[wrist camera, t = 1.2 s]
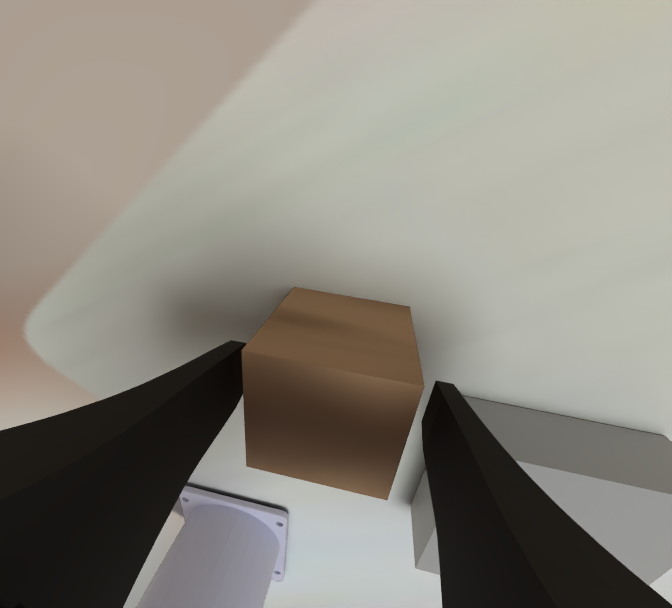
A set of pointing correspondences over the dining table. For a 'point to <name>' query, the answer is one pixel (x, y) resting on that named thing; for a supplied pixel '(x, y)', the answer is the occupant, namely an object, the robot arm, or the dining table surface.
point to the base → (580, 483)
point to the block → (332, 391)
